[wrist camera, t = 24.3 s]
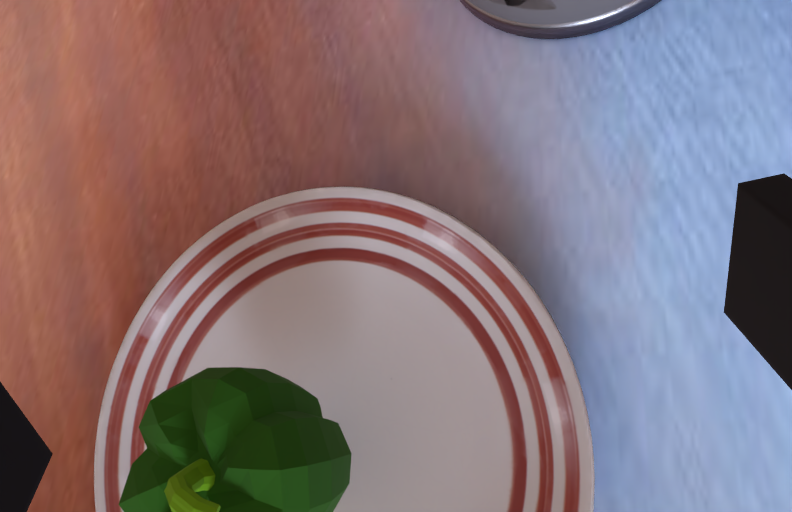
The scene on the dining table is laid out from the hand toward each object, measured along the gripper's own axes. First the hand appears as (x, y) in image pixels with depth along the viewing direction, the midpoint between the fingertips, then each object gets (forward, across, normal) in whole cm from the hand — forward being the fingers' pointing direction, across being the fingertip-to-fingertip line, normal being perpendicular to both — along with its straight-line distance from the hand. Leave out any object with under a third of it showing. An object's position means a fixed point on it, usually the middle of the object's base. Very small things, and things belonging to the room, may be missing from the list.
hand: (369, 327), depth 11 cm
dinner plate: (+15, -5, -20) cm, 25 cm away
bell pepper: (+13, -6, -17) cm, 23 cm away
